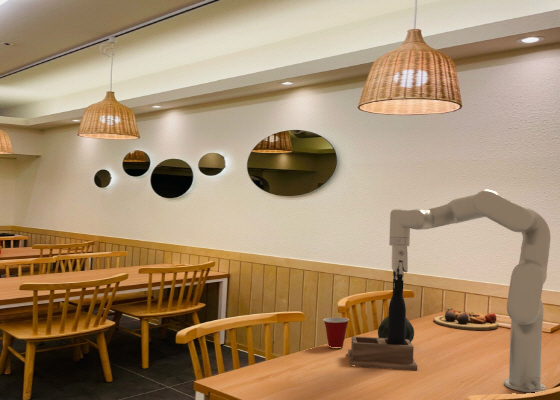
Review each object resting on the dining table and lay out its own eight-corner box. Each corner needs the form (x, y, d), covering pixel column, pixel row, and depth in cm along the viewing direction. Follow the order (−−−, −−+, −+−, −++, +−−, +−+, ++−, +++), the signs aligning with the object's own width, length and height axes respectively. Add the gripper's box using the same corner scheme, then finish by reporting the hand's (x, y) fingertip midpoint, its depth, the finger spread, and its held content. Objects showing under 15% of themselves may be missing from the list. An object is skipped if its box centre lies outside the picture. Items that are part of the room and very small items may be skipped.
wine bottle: (405, 350, 197) (407, 269, 197) (387, 348, 198) (389, 268, 199) (404, 345, 203) (406, 267, 204) (387, 344, 204) (389, 266, 205)
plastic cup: (331, 342, 227) (332, 314, 227) (353, 347, 220) (354, 318, 220) (316, 347, 218) (317, 318, 219) (338, 352, 212) (339, 322, 212)
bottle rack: (417, 370, 191) (418, 349, 191) (350, 366, 193) (351, 345, 193) (409, 356, 209) (409, 337, 209) (348, 353, 211) (348, 334, 211)
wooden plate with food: (503, 324, 283) (503, 308, 283) (491, 334, 256) (491, 316, 256) (442, 317, 300) (443, 302, 300) (426, 325, 273) (426, 309, 273)
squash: (381, 326, 238) (380, 305, 229) (416, 331, 233) (415, 309, 224) (376, 353, 228) (374, 331, 219) (412, 359, 223) (411, 337, 214)
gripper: (413, 243, 193) (411, 293, 192) (406, 241, 209) (404, 287, 209) (392, 242, 193) (390, 292, 193) (386, 240, 210) (385, 286, 210)
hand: (397, 289), depth 201 cm, fingers closed on wine bottle, 3 cm apart
